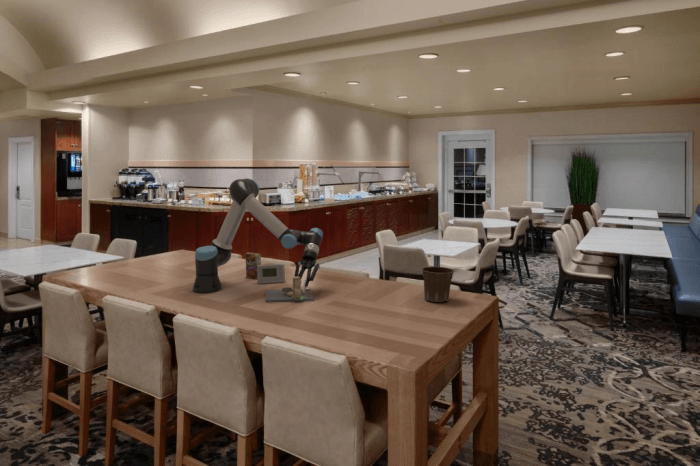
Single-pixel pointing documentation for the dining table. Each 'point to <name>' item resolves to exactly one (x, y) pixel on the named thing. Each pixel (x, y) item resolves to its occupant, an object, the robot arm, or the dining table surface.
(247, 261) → the candy box
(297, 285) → the lever
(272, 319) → the dining table surface
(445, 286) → the plant pot
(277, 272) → the digital clock
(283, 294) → the dial board
